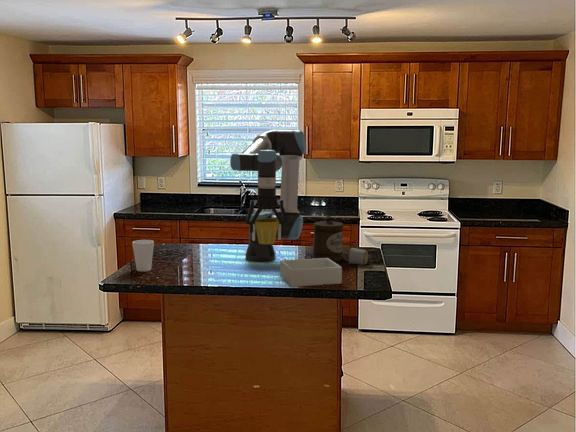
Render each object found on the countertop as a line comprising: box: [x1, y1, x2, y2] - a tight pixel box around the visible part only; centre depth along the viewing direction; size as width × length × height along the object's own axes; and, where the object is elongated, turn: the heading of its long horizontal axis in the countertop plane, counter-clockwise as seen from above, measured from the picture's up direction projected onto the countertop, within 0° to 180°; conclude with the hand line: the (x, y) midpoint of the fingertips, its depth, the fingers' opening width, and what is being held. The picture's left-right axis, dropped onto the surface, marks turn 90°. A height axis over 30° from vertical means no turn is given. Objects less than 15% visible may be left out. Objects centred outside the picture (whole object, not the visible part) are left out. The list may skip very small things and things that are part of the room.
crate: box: [279, 258, 343, 287], centre depth 233 cm, size 18×22×7 cm
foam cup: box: [132, 239, 155, 272], centre depth 246 cm, size 10×9×13 cm
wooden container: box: [312, 215, 344, 263], centre depth 273 cm, size 15×15×22 cm
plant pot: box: [254, 218, 279, 244], centre depth 228 cm, size 10×10×10 cm
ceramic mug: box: [348, 247, 369, 266], centre depth 264 cm, size 11×8×8 cm
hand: (266, 239), depth 228 cm, fingers closed on plant pot, 10 cm apart
